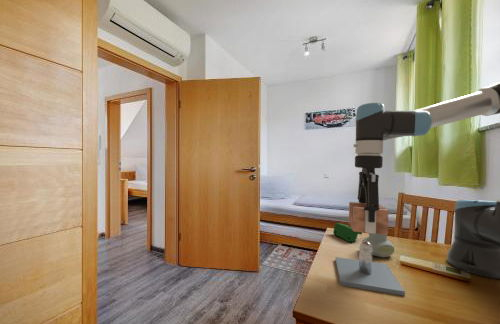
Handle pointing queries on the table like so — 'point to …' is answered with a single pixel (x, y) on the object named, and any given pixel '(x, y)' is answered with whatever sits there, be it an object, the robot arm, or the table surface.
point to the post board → (368, 277)
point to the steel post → (365, 258)
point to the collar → (359, 218)
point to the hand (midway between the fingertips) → (366, 227)
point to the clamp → (345, 232)
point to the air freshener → (380, 245)
